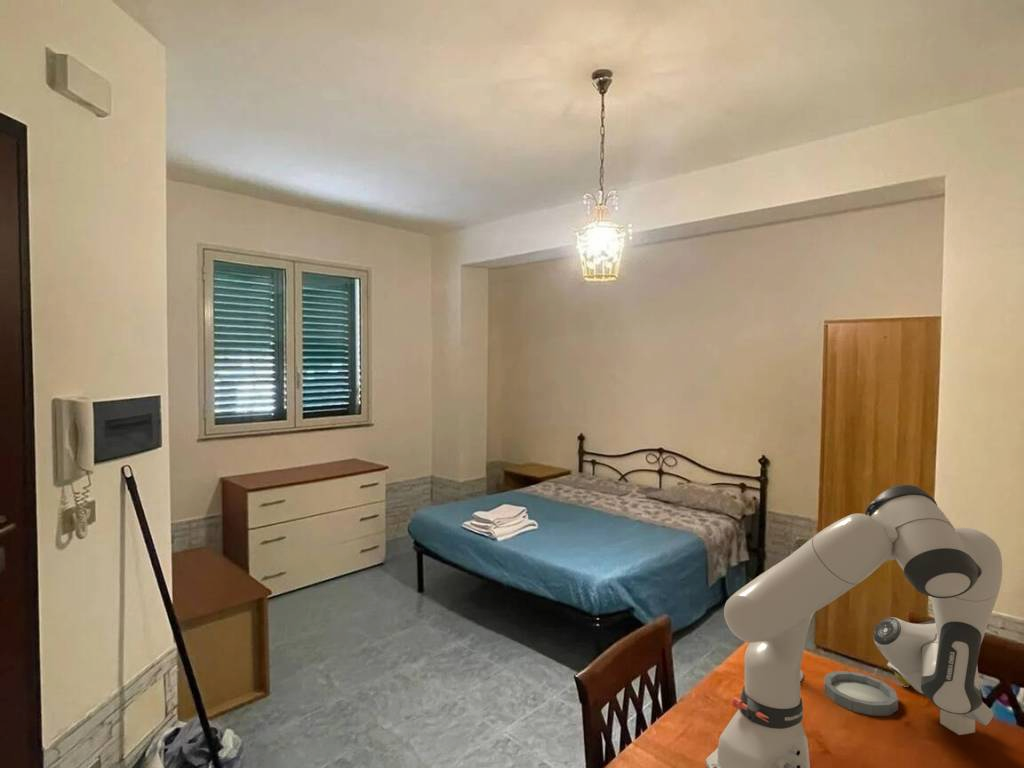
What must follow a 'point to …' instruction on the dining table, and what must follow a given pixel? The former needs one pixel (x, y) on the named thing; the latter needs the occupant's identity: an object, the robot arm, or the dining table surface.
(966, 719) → the block
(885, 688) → the dish
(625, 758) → the dining table surface
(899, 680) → the lemon
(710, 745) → the dining table surface
